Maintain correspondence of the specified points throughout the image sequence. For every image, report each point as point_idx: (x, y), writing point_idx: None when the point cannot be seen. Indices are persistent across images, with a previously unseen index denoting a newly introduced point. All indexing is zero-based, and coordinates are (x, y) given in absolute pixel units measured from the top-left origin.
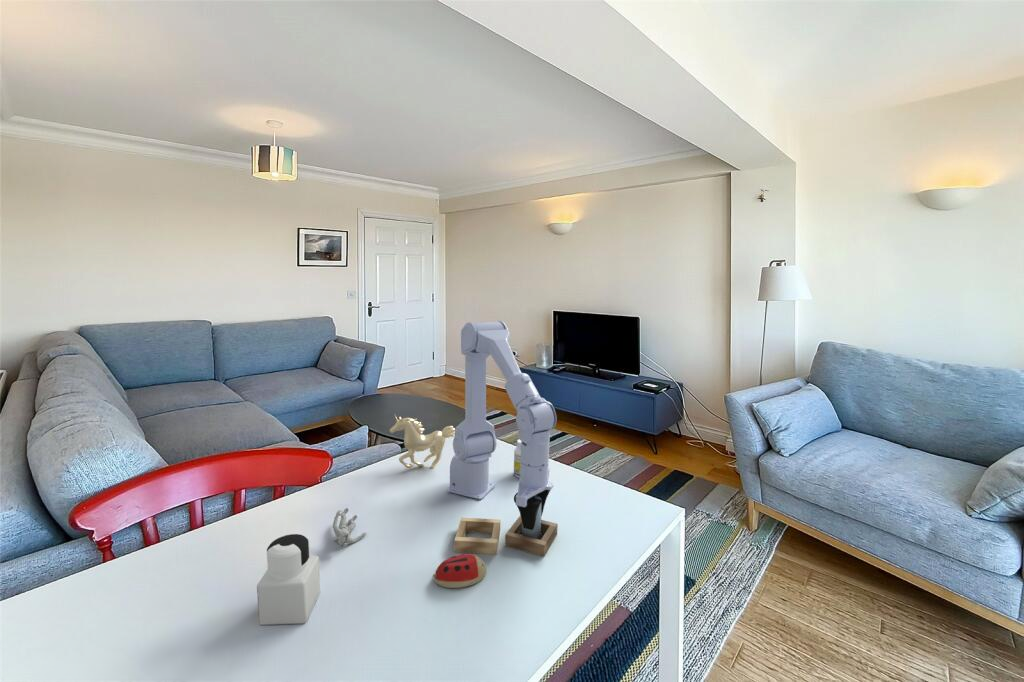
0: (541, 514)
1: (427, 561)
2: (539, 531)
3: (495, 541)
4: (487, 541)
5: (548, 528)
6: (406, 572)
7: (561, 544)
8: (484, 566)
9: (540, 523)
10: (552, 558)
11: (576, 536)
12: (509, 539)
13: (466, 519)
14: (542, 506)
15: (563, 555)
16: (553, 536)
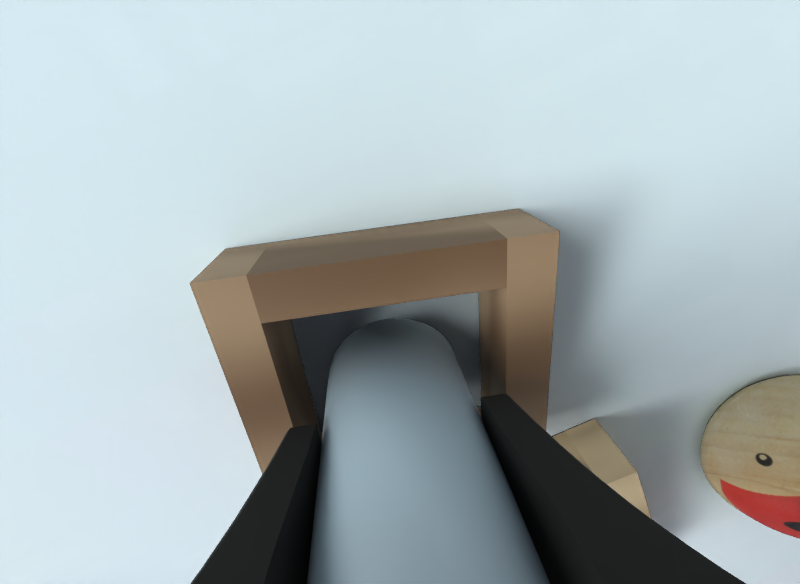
0: (305, 455)
1: (711, 554)
2: (405, 348)
3: (627, 483)
4: (641, 507)
5: (314, 314)
6: (778, 559)
7: (317, 165)
8: (798, 413)
9: (395, 390)
10: (509, 150)
11: (125, 97)
12: None
13: None
14: (281, 545)
15: (438, 89)
16: (316, 247)
